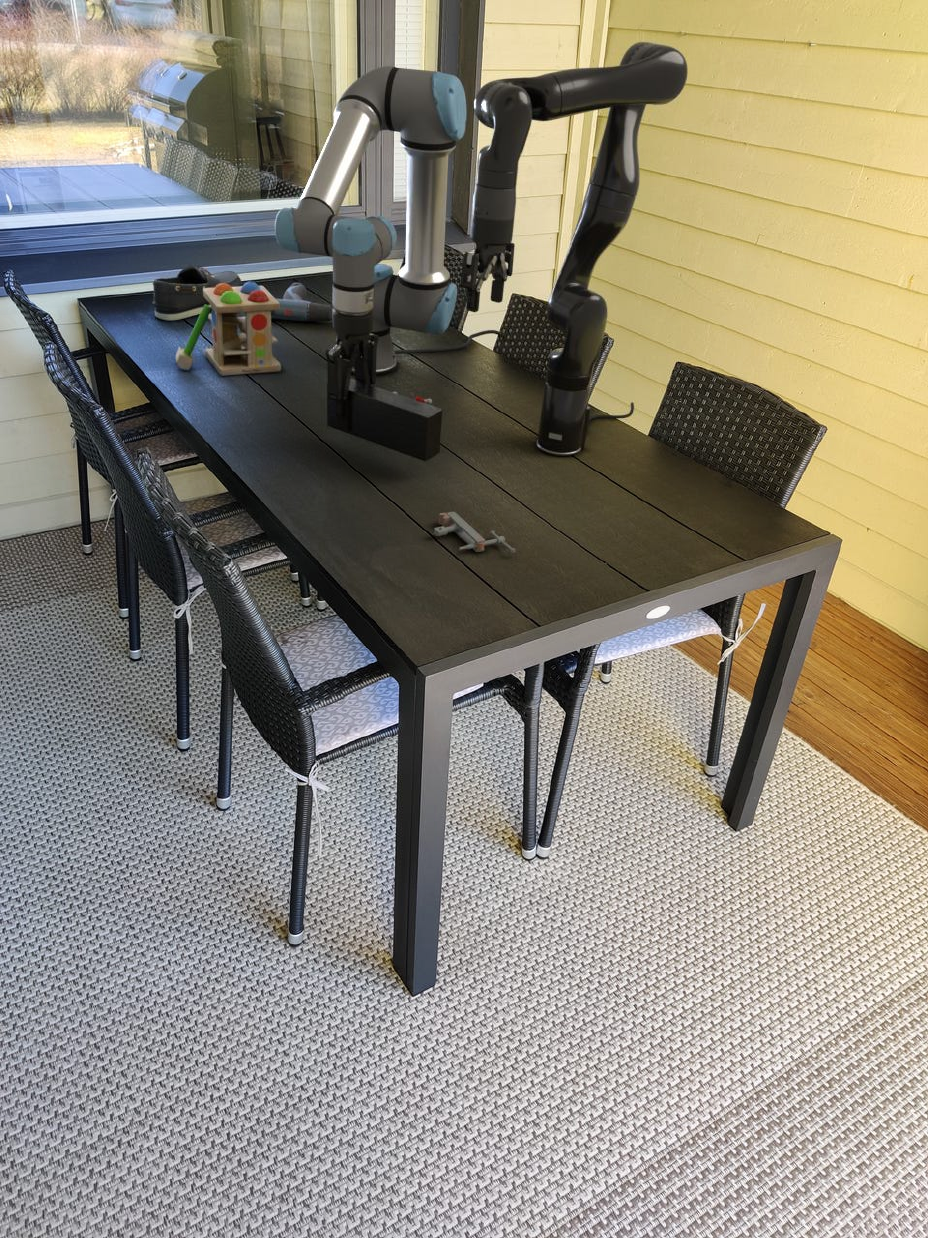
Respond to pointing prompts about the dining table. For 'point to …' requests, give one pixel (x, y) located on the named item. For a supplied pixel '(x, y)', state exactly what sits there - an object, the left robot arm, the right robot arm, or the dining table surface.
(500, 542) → the clamp
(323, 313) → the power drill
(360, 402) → the bar
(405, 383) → the dining table surface
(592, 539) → the dining table surface
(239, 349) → the pounding bench toy
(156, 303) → the boat shoe
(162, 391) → the dining table surface
